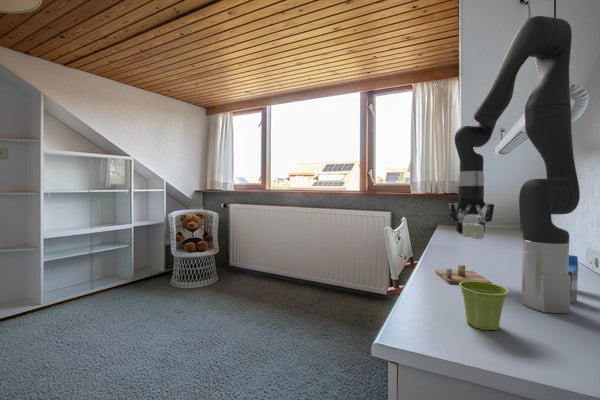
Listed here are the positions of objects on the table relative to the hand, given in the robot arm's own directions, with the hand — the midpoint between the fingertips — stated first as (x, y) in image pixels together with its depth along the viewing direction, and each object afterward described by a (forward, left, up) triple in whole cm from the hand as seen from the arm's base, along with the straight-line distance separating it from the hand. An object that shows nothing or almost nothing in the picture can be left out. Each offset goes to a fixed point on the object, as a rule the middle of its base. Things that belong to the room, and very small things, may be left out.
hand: (470, 233), depth 101 cm
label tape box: (-16, -16, -16) cm, 28 cm away
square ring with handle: (-2, 0, -1) cm, 2 cm away
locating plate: (-1, +3, -15) cm, 16 cm away
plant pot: (-37, +13, -16) cm, 42 cm away
